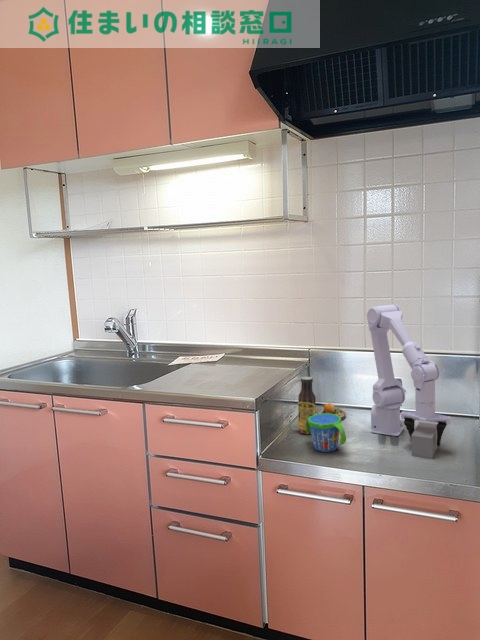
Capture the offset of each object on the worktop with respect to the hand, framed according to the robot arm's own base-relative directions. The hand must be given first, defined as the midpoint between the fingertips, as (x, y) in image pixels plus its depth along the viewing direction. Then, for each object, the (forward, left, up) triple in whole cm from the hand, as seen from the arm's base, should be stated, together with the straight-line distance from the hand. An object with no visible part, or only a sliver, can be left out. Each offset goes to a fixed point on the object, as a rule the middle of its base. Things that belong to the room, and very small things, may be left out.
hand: (425, 442), depth 155 cm
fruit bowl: (-38, +17, -3) cm, 42 cm away
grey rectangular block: (0, 0, -2) cm, 2 cm away
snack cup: (-29, -11, -2) cm, 31 cm away
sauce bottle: (-40, 0, -2) cm, 40 cm away
